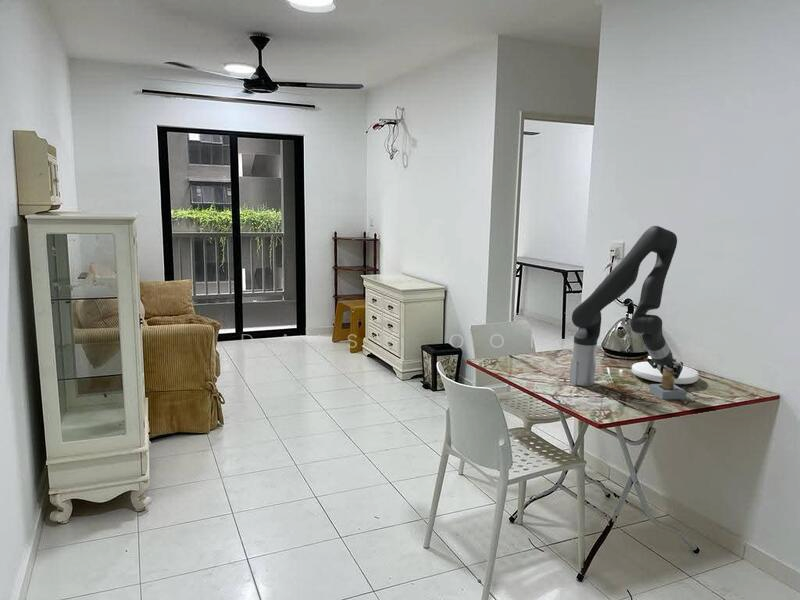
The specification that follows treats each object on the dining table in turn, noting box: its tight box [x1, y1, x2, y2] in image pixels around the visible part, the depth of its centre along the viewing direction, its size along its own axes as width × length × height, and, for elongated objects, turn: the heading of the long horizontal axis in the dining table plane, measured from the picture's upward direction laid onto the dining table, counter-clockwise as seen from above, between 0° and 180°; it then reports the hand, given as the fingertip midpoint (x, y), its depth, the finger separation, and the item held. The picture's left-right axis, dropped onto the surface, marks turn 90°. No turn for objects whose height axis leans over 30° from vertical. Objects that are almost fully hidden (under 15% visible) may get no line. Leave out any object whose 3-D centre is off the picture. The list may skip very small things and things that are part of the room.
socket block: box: [649, 383, 687, 400], centre depth 228 cm, size 10×10×3 cm
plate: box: [631, 361, 700, 385], centre depth 250 cm, size 28×6×27 cm
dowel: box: [661, 357, 677, 390], centre depth 227 cm, size 4×4×13 cm
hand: (670, 375), depth 228 cm, fingers closed on dowel, 4 cm apart
